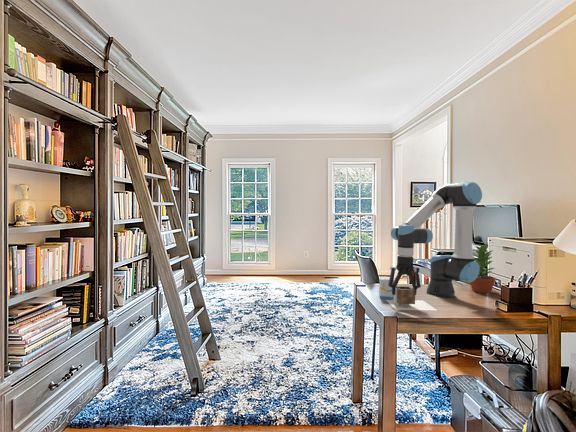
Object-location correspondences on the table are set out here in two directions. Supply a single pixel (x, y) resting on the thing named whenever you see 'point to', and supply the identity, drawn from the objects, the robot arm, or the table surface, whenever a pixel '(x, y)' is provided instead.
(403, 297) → the wooden cubby shelf
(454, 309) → the table surface
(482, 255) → the potted plant
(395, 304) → the hub board
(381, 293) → the ink box
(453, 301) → the table surface
